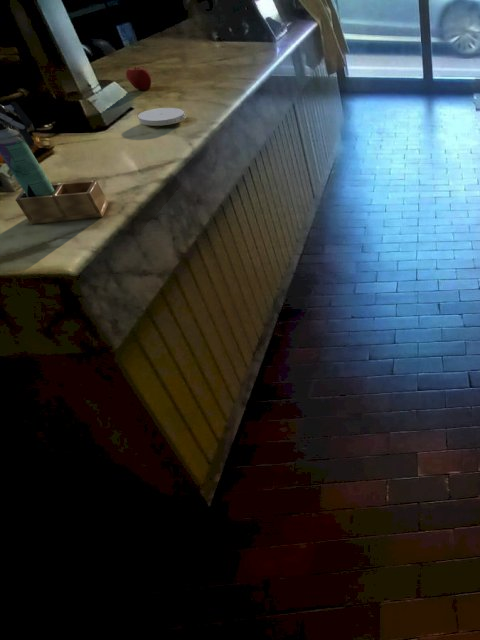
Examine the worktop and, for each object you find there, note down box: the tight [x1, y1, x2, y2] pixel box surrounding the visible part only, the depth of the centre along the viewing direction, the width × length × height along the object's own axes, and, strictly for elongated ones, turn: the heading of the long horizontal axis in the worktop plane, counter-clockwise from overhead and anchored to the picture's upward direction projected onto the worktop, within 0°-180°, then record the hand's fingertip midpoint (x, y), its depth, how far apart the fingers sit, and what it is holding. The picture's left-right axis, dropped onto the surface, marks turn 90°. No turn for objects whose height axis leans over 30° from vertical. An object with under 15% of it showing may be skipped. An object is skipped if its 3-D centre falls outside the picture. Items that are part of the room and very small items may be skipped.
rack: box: [15, 180, 109, 225], centre depth 124 cm, size 15×8×6 cm, turn 109°
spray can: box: [0, 121, 55, 197], centre depth 117 cm, size 6×6×20 cm
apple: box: [125, 66, 152, 91], centre depth 198 cm, size 8×8×8 cm
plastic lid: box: [137, 107, 187, 127], centre depth 174 cm, size 14×14×2 cm
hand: (10, 151), depth 119 cm, fingers open, 8 cm apart
